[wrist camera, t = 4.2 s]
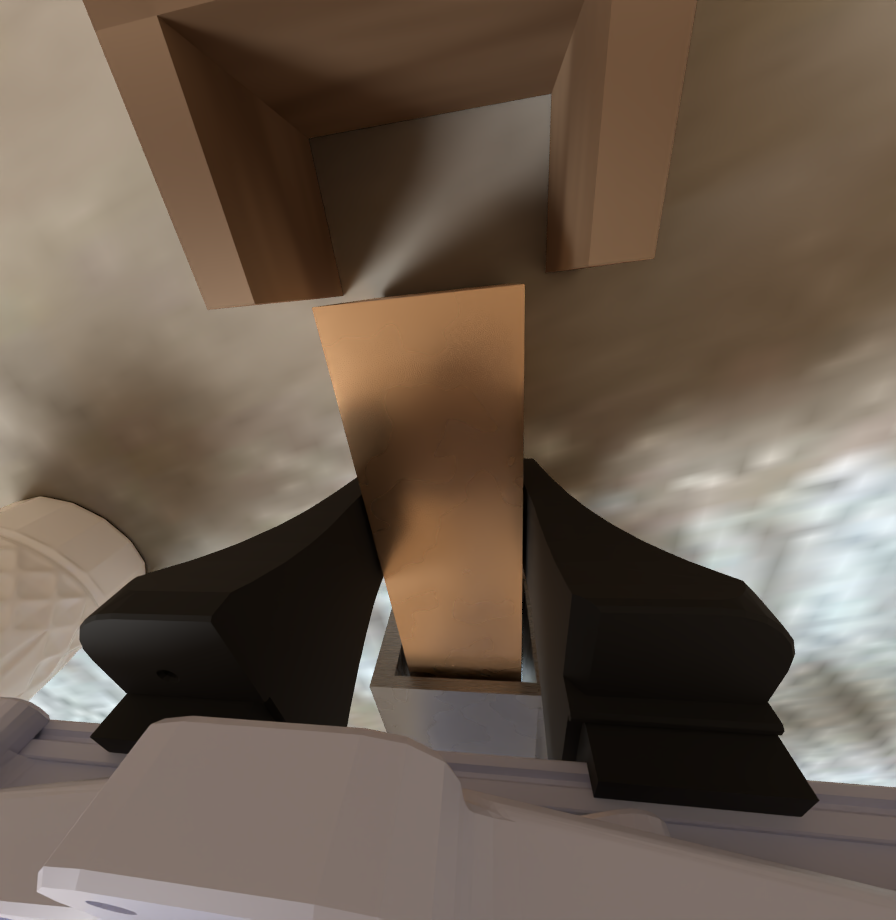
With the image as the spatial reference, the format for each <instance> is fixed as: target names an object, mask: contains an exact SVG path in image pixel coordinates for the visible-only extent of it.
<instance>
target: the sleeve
mask: <svg viewBox="0 0 896 920" xmlns="http://www.w3.org/2000/svg"><path fill="white" fill-rule="evenodd" d="M370 689H371V691H372V694H373V697H374V699H375V702H376V705H377V707H378V710H379V713H380V715H381V718H382V720H383V723H384V726H385V728H386V731H387V733H391V734H396V735H401V736H406V737H408V738H410V739H412V740H414V741H416V742H419V743H421V744H423V745H425V746H427V747H429V748H431V749H433V750H435V751H447V752H460V753H472V754H485V755H497V756H510V757H522V758H535V759H547V760H548V756H547V746H546V736H545V726H544V716H543V706H542V697H541V687H540V678H539V669H538V660H537V651H536V642H535V633H534V625H533V616H532V608H531V602H530V596H529V591H528V587H527V582H526V580H524V587H523V670H522V682H510V681H490V680H470V679H450V678H430V677H411V676H410V672H409V669H408V665H407V661H406V657H405V654H404V650H403V646H402V643H401V639H400V635H399V631H398V628H397V624H396V620H395V616H394V613H393V609H392V610H391V614H390V617H389V621H388V624H387V628H386V631H385V635H384V638H383V642H382V645H381V649H380V652H379V656H378V659H377V663H376V666H375V670H374V673H373V677H372V680H371V684H370Z"/></svg>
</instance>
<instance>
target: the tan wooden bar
mask: <svg viewBox="0 0 896 920" xmlns="http://www.w3.org/2000/svg"><path fill="white" fill-rule="evenodd" d="M312 310H313V313H314V317H315V321H316V325H317V328H318V332H319V336H320V339H321V343H322V347H323V351H324V354H325V358H326V362H327V366H328V369H329V373H330V377H331V381H332V384H333V388H334V392H335V396H336V399H337V403H338V407H339V411H340V414H341V418H342V422H343V426H344V429H345V433H346V437H347V440H348V444H349V448H350V452H351V455H352V459H353V463H354V467H355V470H356V474H357V478H358V482H359V485H360V489H361V493H362V497H363V500H364V504H365V508H366V512H367V515H368V519H369V523H370V527H371V530H372V534H373V538H374V542H375V545H376V549H377V553H378V556H379V560H380V564H381V568H382V571H383V575H384V579H385V583H386V586H387V590H388V594H389V598H390V601H391V605H392V609H393V613H394V616H395V620H396V624H397V628H398V631H399V635H400V639H401V643H402V646H403V650H404V654H405V657H406V661H407V665H408V669H409V672H410V676H411V677H430V678H450V679H470V680H490V681H510V682H521V652H522V541H523V431H524V321H525V284H513V283H508V284H499V285H490V286H481V287H472V288H463V289H455V290H446V291H437V292H428V293H419V294H410V295H401V296H392V297H383V298H374V299H367V300H360V301H353V302H346V303H340V304H333V305H326V306H319V307H312Z"/></svg>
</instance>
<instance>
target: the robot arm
mask: <svg viewBox="0 0 896 920" xmlns="http://www.w3.org/2000/svg"><path fill="white" fill-rule="evenodd" d="M522 564H523V569H524V573H525V578H526V582H527V587H528V591H529V596H530V602H531V608H532V616H533V625H534V633H535V642H536V651H537V660H538V669H539V678H540V687H541V697H542V706H543V716H544V726H545V736H546V746H547V756H548V760H547V759H535V758H522V757H510V756H497V755H485V754H472V753H460V752H447V751H435V750H433V749H431V748H429V747H427V746H425V745H423V744H421V743H419V742H416V741H414V740H412V739H410V738H408V737H406V736H401V735H396V734H391V733H386V732H381V731H376V730H371V729H366V728H353V727H347V724H348V718H349V713H350V707H351V702H352V697H353V692H354V687H355V682H356V678H357V673H358V668H359V663H360V659H361V655H362V650H363V646H364V641H365V637H366V633H367V629H368V625H369V621H370V617H371V613H372V609H373V605H374V602H375V599H376V596H377V593H378V590H379V587H380V584H381V582H382V579H383V576H384V575H383V571H382V568H381V564H380V560H379V556H378V553H377V549H376V545H375V542H374V538H373V534H372V530H371V527H370V523H369V519H368V515H367V512H366V508H365V504H364V500H363V497H362V493H361V489H360V485H359V482H358V478H355V479H354V480H352V481H351V482H350V483H348V484H347V485H345V486H344V487H342V488H341V489H340V490H338V491H337V492H335V493H334V494H332V495H330V496H329V497H327V498H326V499H324V500H323V501H321V502H320V503H318V504H316V505H315V506H313V507H312V508H310V509H308V510H307V511H305V512H303V513H301V514H300V515H298V516H296V517H294V518H292V519H290V520H288V521H286V522H285V523H283V524H281V525H279V526H277V527H274V528H272V529H270V530H268V531H266V532H263V533H261V534H259V535H257V536H254V537H252V538H250V539H248V540H245V541H243V542H241V543H238V544H235V545H233V546H230V547H228V548H225V549H223V550H220V551H217V552H214V553H211V554H209V555H206V556H203V557H200V558H197V559H194V560H191V561H188V562H185V563H181V564H178V565H175V566H171V567H168V568H165V569H161V570H158V571H155V572H151V573H148V574H144V575H141V576H137V577H136V578H134V579H132V580H131V581H130V582H129V583H127V584H126V585H125V586H124V587H123V588H121V589H120V590H119V591H118V592H117V593H116V594H114V595H113V596H112V597H111V598H110V599H108V600H107V601H106V602H105V603H104V604H102V605H101V606H100V607H99V608H98V609H97V610H95V611H94V612H93V613H92V614H91V615H89V616H88V617H87V618H86V619H85V620H84V621H83V623H82V624H81V625H80V633H79V641H80V643H81V645H82V647H83V649H84V651H85V652H86V653H87V654H88V655H89V657H90V658H91V659H92V660H93V661H94V662H95V663H96V664H97V665H98V666H99V667H100V668H101V669H102V670H103V671H104V672H105V673H106V674H107V675H108V676H109V677H110V678H111V679H112V680H113V681H114V682H115V683H116V684H117V685H118V686H119V687H121V688H122V689H123V690H124V691H125V692H126V693H127V694H126V695H125V697H124V698H123V699H122V700H121V701H120V702H119V703H118V705H117V706H116V707H115V708H114V709H113V710H112V712H111V713H110V714H109V715H108V716H107V717H106V718H105V720H104V721H103V722H102V723H101V724H98V723H86V722H73V721H61V720H50V719H49V715H48V714H47V713H45V712H44V711H43V710H42V709H41V708H39V707H38V706H36V705H34V704H33V703H31V702H28V701H26V700H23V699H19V698H12V697H0V920H896V787H884V786H872V785H859V784H847V783H834V782H822V781H809V780H806V779H805V777H804V776H803V774H802V772H801V771H800V769H799V768H798V766H797V765H796V763H795V762H794V760H793V758H792V757H791V755H790V754H789V752H788V751H787V749H786V748H785V746H784V744H783V743H782V741H781V740H780V738H779V737H778V735H782V734H783V732H784V727H783V724H782V722H781V721H780V719H779V718H778V716H777V715H776V714H775V712H774V711H773V709H772V708H771V706H770V705H769V703H768V701H769V699H770V698H771V696H772V695H773V693H774V692H775V690H776V689H777V687H778V686H779V684H780V683H781V681H782V680H783V678H784V677H785V675H786V674H787V672H788V670H789V668H790V666H791V663H792V661H793V658H794V655H795V649H794V640H793V639H792V637H791V636H790V634H789V633H788V632H787V630H786V629H785V628H784V626H783V625H782V624H781V623H780V622H779V621H778V619H777V618H776V617H775V616H774V615H773V613H772V612H771V611H770V610H769V609H768V608H767V606H766V605H765V604H764V603H763V602H762V601H761V600H760V598H759V597H758V596H757V595H756V594H755V593H754V592H753V591H752V590H751V589H750V588H749V587H748V586H747V585H746V584H745V583H744V581H742V580H739V579H736V578H733V577H731V576H728V575H725V574H722V573H720V572H717V571H714V570H711V569H709V568H706V567H703V566H700V565H698V564H695V563H692V562H689V561H687V560H684V559H682V558H680V557H677V556H675V555H673V554H670V553H668V552H666V551H664V550H661V549H659V548H657V547H655V546H653V545H650V544H648V543H646V542H644V541H642V540H640V539H638V538H636V537H634V536H632V535H631V534H629V533H627V532H625V531H623V530H621V529H619V528H618V527H616V526H614V525H612V524H611V523H609V522H607V521H606V520H604V519H603V518H601V517H600V516H598V515H597V514H595V513H594V512H592V511H590V510H589V509H588V508H586V507H585V506H583V505H582V504H581V503H580V502H578V501H577V500H576V499H574V498H573V497H572V496H571V495H569V494H568V493H567V492H566V491H565V490H564V489H563V488H562V487H560V486H559V485H558V484H557V483H556V482H555V481H554V480H553V479H552V478H551V477H550V476H549V475H548V474H547V473H546V472H545V471H544V470H543V469H542V468H541V467H540V466H539V464H538V463H537V462H536V461H535V460H534V459H533V458H532V459H523V541H522Z"/></svg>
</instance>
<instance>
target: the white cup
mask: <svg viewBox="0 0 896 920" xmlns="http://www.w3.org/2000/svg"><path fill="white" fill-rule="evenodd" d="M144 574H146V571H145V562H144V561H143V559H142V557H141V556H140V554H139V553H138V551H137V550H136V548H135V547H134V545H133V544H132V542H131V541H130V540H129V539H128V538H127V537H126V536H124V535H123V534H122V533H121V532H120V531H119V530H117V529H116V528H115V527H114V526H113V525H111V524H110V523H109V522H108V521H106V520H105V519H104V518H102V517H100V516H98V515H96V514H94V513H92V512H90V511H88V510H86V509H84V508H82V507H80V506H78V505H76V504H74V503H71V502H66V501H62V500H57V499H52V498H47V497H42V496H39V497H35V498H31V499H26V500H22V501H18V502H15V503H12V504H10V505H7V506H5V507H3V508H0V697H12V698H19V699H23V700H26V701H29V700H30V699H31V698H32V697H33V696H34V695H35V694H36V693H37V692H38V691H39V690H40V689H41V688H43V687H44V686H45V685H46V684H47V683H48V682H49V681H50V680H51V679H52V678H53V677H54V676H55V675H56V674H57V673H58V672H59V671H60V670H62V668H63V667H64V666H65V665H66V664H67V663H68V662H69V660H70V659H71V658H72V657H73V656H74V655H75V654H76V652H77V651H78V650H80V649H81V648H82V645H81V643H80V641H79V633H80V625H81V624H82V623H83V621H84V620H85V619H86V618H87V617H88V616H89V615H91V614H92V613H93V612H94V611H95V610H97V609H98V608H99V607H100V606H101V605H102V604H104V603H105V602H106V601H107V600H108V599H110V598H111V597H112V596H113V595H114V594H116V593H117V592H118V591H119V590H120V589H121V588H123V587H124V586H125V585H126V584H127V583H129V582H130V581H131V580H132V579H134V578H136V577H137V576H141V575H144Z"/></svg>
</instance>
